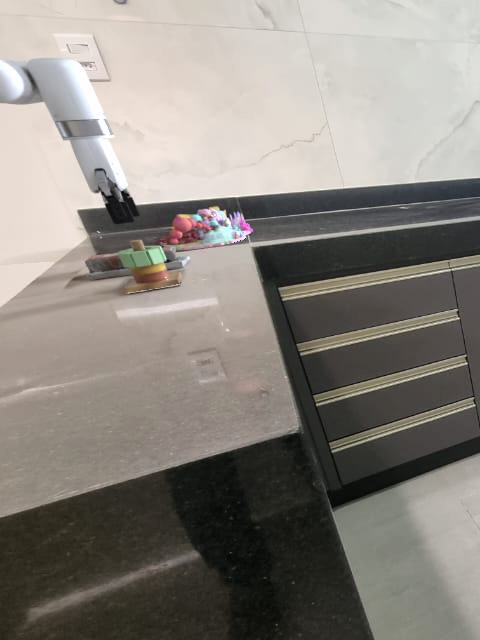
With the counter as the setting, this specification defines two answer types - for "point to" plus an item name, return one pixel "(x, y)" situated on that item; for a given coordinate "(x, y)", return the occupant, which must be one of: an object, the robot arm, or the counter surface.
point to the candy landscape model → (205, 230)
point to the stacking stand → (150, 274)
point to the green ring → (142, 257)
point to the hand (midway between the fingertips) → (127, 219)
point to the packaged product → (113, 267)
